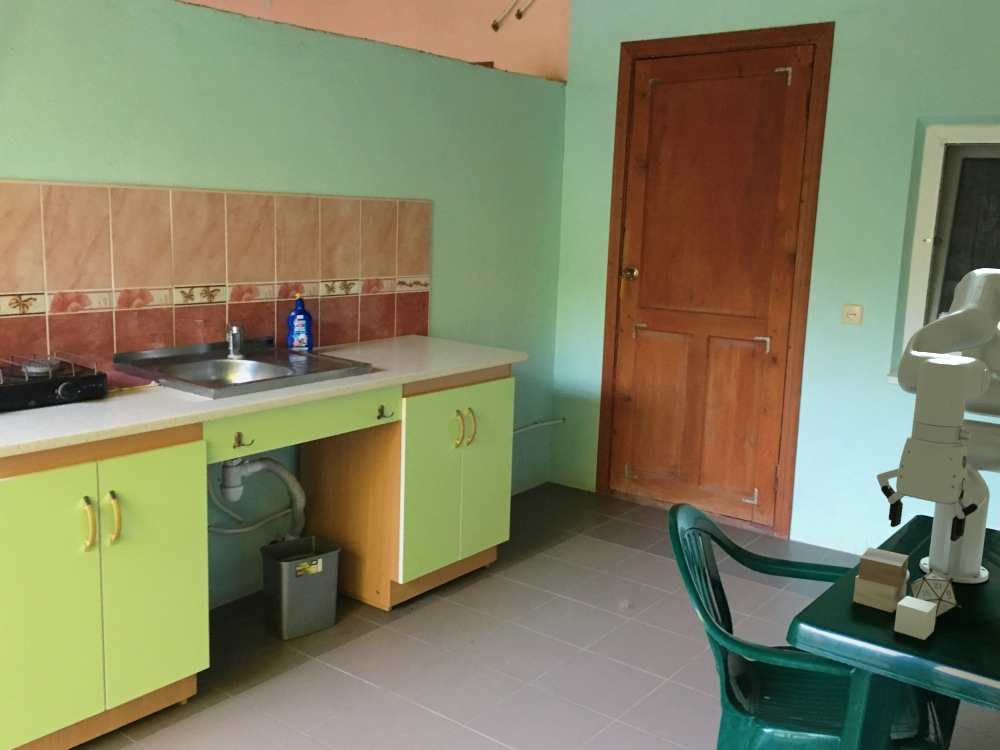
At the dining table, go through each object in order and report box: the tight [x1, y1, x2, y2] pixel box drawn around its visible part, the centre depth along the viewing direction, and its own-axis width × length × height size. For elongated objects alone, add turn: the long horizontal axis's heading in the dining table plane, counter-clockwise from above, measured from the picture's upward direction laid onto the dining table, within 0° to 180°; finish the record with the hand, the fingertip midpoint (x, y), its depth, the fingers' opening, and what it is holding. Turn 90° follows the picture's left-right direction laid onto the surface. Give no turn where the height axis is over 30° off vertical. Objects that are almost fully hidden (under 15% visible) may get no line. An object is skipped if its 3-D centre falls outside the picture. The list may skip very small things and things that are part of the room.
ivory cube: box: [894, 595, 937, 641], centre depth 160 cm, size 5×5×5 cm
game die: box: [905, 568, 962, 623], centre depth 167 cm, size 9×8×10 cm
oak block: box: [852, 574, 909, 613], centre depth 172 cm, size 7×7×5 cm
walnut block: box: [857, 547, 909, 588], centre depth 172 cm, size 7×7×4 cm
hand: (924, 532), depth 157 cm, fingers open, 9 cm apart
